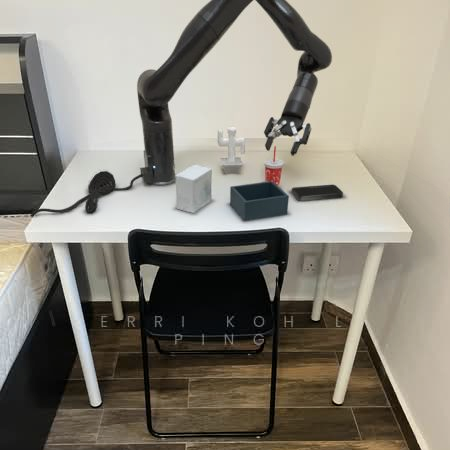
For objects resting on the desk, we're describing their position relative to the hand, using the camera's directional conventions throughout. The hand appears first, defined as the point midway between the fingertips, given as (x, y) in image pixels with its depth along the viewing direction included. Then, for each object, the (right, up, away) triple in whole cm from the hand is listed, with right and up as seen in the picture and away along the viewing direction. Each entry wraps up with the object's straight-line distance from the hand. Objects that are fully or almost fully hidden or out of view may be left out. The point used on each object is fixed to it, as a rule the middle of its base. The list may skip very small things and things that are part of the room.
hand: (279, 151), depth 145 cm
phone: (+12, -13, +1) cm, 18 cm away
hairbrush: (-57, -14, -1) cm, 59 cm away
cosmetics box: (-26, -18, -6) cm, 33 cm away
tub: (-7, -20, -8) cm, 22 cm away
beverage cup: (-2, -11, +4) cm, 12 cm away
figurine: (-15, -2, +16) cm, 22 cm away
